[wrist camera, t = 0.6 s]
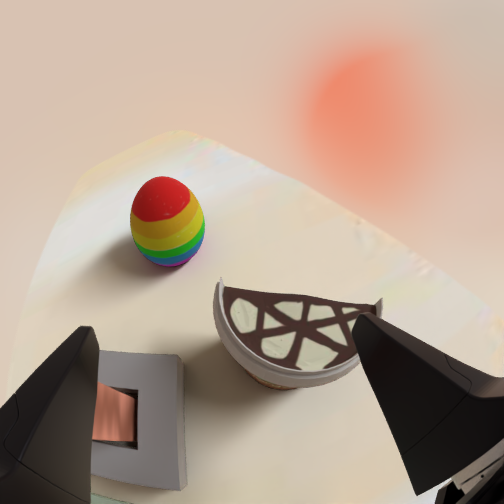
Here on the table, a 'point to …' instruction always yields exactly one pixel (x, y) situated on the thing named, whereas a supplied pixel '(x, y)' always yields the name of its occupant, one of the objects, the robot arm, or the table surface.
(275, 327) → the food container
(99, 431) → the peg
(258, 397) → the table surface
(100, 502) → the board
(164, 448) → the pocket block
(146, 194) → the decorative egg
